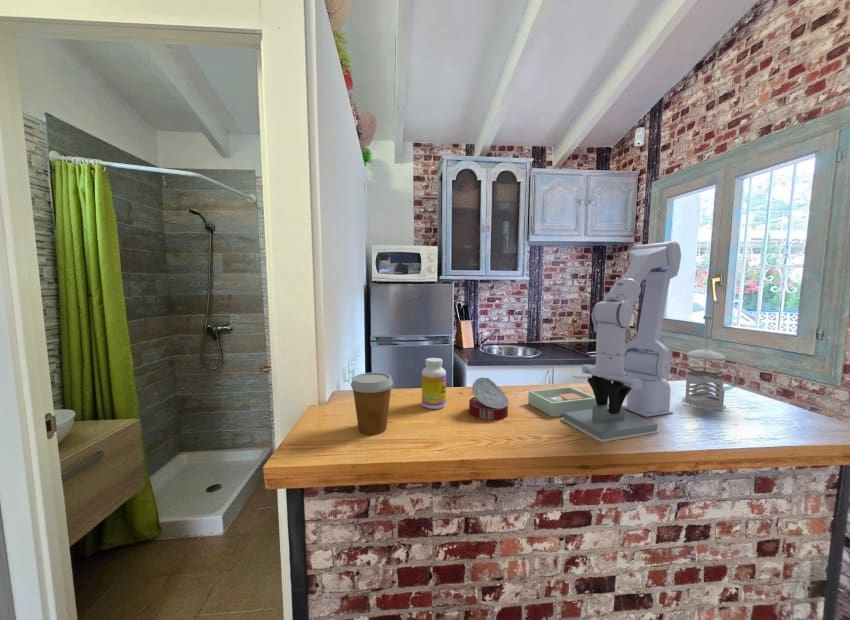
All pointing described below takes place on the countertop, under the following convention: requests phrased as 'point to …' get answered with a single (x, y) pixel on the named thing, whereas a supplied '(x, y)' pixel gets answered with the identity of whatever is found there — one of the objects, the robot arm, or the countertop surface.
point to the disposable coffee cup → (372, 401)
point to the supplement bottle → (433, 384)
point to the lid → (609, 422)
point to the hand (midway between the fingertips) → (608, 410)
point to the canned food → (488, 401)
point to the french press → (706, 380)
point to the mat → (608, 438)
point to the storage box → (561, 400)
